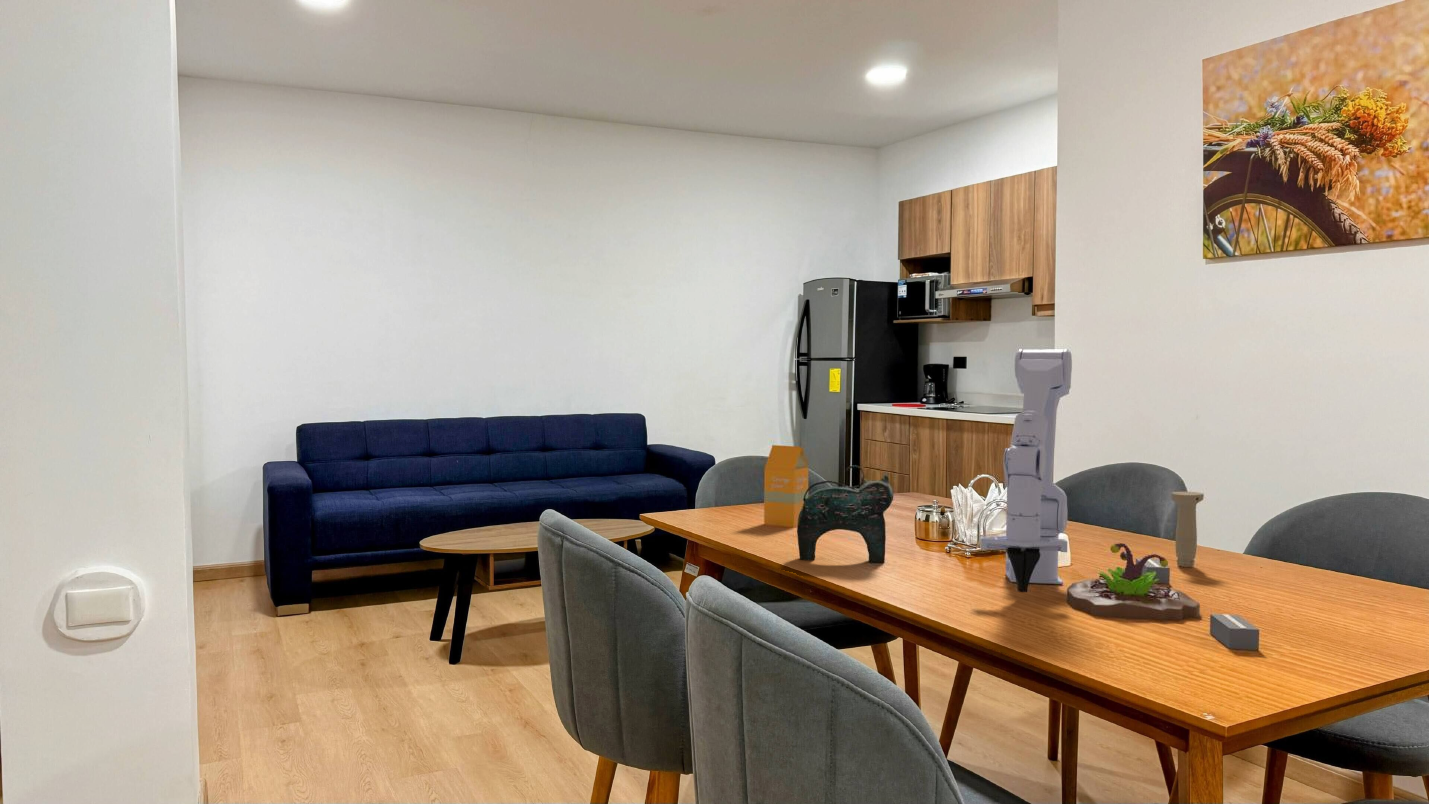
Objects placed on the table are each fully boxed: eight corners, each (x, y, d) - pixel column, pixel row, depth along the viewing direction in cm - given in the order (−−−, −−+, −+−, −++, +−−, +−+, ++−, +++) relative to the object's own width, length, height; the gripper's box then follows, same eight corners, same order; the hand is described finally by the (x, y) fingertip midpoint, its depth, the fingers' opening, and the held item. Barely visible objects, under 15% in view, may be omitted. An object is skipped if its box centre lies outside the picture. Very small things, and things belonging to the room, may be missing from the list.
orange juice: (794, 527, 238) (794, 448, 238) (763, 524, 243) (764, 446, 242) (808, 523, 245) (809, 445, 244) (778, 520, 250) (779, 444, 249)
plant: (1051, 592, 174) (1052, 531, 173) (1160, 593, 173) (1161, 532, 172) (1090, 622, 154) (1092, 554, 153) (1214, 624, 153) (1215, 555, 152)
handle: (1206, 567, 194) (1208, 494, 193) (1184, 570, 191) (1186, 495, 191) (1186, 562, 198) (1188, 491, 198) (1164, 565, 196) (1165, 492, 195)
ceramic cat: (892, 559, 201) (893, 464, 200) (893, 565, 194) (894, 468, 193) (798, 555, 204) (798, 462, 203) (795, 562, 198) (796, 465, 197)
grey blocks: (1229, 648, 139) (1229, 627, 138) (1135, 573, 188) (1135, 557, 188) (1258, 650, 138) (1259, 629, 138) (1156, 574, 187) (1157, 558, 187)
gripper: (983, 516, 164) (982, 594, 165) (1071, 519, 162) (1070, 598, 162) (978, 510, 171) (977, 585, 171) (1063, 512, 168) (1061, 588, 169)
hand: (1022, 590), depth 167 cm, fingers closed
